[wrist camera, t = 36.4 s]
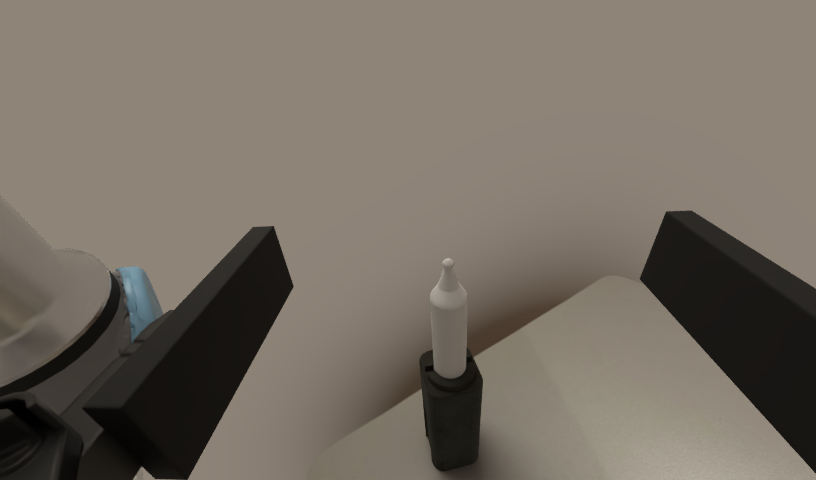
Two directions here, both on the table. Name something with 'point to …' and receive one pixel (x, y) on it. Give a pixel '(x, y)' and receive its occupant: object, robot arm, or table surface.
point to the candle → (450, 378)
